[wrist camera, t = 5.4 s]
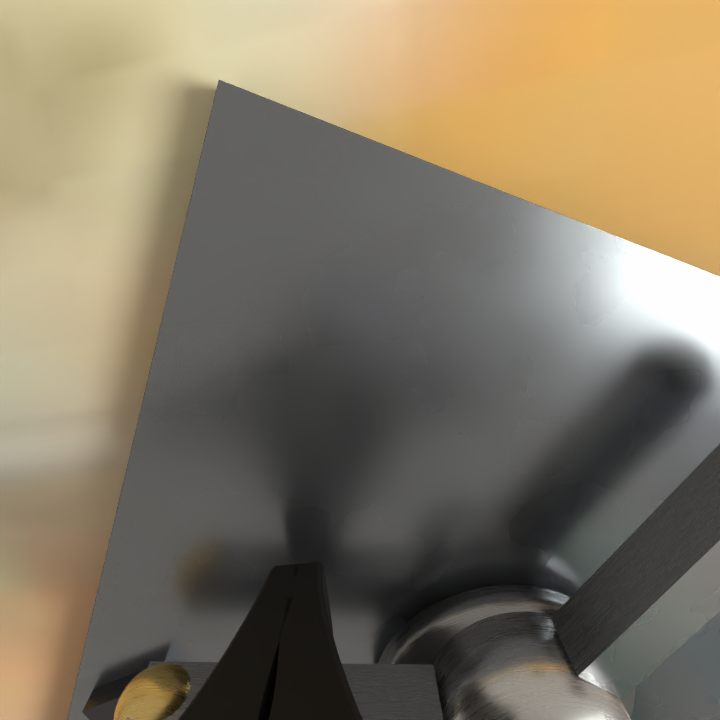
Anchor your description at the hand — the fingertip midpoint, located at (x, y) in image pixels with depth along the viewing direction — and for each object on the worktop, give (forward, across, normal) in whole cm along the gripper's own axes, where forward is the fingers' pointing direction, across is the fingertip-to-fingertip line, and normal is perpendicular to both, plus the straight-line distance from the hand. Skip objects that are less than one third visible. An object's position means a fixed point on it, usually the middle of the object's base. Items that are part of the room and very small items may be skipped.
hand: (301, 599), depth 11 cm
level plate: (+2, -5, +3) cm, 6 cm away
